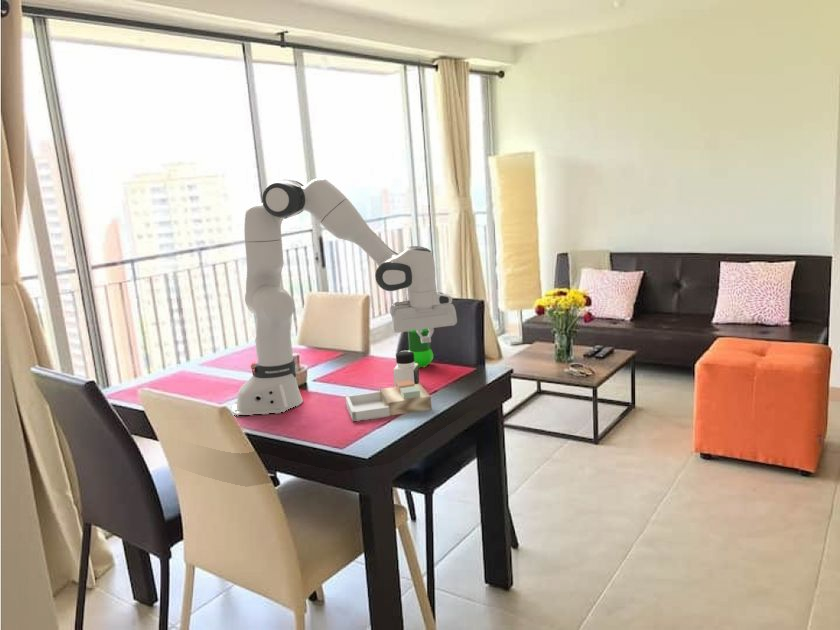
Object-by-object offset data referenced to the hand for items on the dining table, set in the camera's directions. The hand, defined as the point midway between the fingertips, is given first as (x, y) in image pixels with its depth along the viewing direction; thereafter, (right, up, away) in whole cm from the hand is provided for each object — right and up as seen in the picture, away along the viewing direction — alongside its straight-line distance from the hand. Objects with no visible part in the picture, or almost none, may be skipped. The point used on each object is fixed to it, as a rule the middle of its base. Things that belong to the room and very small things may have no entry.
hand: (425, 342), depth 207 cm
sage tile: (-5, -16, -5) cm, 17 cm away
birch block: (-6, -19, -1) cm, 20 cm away
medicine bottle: (-6, -16, +17) cm, 24 cm away
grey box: (-18, -21, -4) cm, 28 cm away
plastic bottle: (-2, -10, +40) cm, 41 cm away
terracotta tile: (-6, -15, +1) cm, 16 cm away
